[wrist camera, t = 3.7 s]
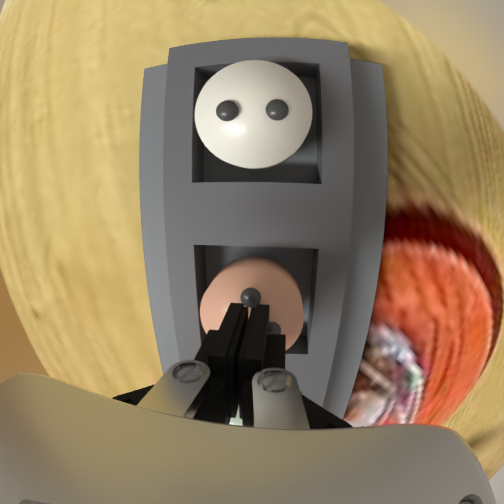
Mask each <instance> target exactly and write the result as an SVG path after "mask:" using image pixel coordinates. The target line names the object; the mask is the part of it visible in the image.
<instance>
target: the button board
mask: <svg viewBox="0 0 504 504" xmlns="http://www.w3.org/2000/svg"><path fill="white" fill-rule="evenodd" d="M248 60H262V61H268V62H272V63H275V64H278V65H280V66H283V67H284V68H286V69H288V70H289V71H291V72H292V73H293V74H295V75H296V76H297V77H298V78H299V79H300V81H301V82H302V83H303V84H304V86H305V88H306V90H307V91H308V94H309V96H310V100H311V104H312V121H311V126H310V129H309V132H308V134H307V136H306V138H305V140H304V141H303V143H302V145H301V147H300V148H299V149H298V151H297V152H296V153H295V154H294V155H293V156H292V157H291V158H289V159H288V160H286V161H285V162H283V163H281V164H279V165H277V166H274V167H271V168H266V169H248V168H243V167H239V166H236V165H233V164H230V163H227V162H225V161H223V160H221V159H220V158H218V157H216V156H215V155H214V154H213V153H212V152H210V151H209V149H208V148H207V147H206V146H205V145H204V143H203V142H202V140H201V138H200V136H199V134H198V131H197V128H196V124H195V106H196V102H197V99H198V96H199V94H200V92H201V90H202V88H203V87H204V85H205V84H206V83H207V81H208V80H209V79H210V78H211V77H212V76H213V75H215V74H216V73H217V72H218V71H220V70H222V69H223V68H225V67H227V66H229V65H231V64H234V63H237V62H242V61H248ZM387 172H388V139H387V114H386V99H385V88H384V78H383V69H382V64H377V63H372V62H366V61H360V60H354V59H349V50H348V43H346V42H338V41H330V40H319V39H306V38H244V39H230V40H219V41H211V42H203V43H196V44H190V45H184V46H178V47H173V48H169V57H168V64H164V65H159V66H155V67H150V68H146V69H145V70H144V79H143V90H142V102H141V119H140V148H139V178H140V208H141V226H142V239H143V250H144V261H145V270H146V278H147V286H148V294H149V301H150V307H151V314H152V320H153V326H154V331H155V337H156V342H157V347H158V352H159V357H160V362H161V366H162V371H163V375H164V374H165V373H166V372H167V370H168V369H169V368H170V367H171V366H172V365H174V364H175V363H177V362H180V361H184V360H194V358H195V356H196V354H197V352H198V350H199V348H200V347H201V345H202V343H203V341H204V339H205V337H206V335H207V334H206V332H205V330H204V328H203V326H202V322H201V318H200V306H201V301H202V298H203V295H204V293H205V292H206V290H207V289H208V287H209V286H210V284H211V283H212V281H213V280H214V278H215V277H216V275H217V274H218V272H219V271H220V270H221V269H222V268H223V267H224V266H225V265H227V264H228V263H230V262H231V261H234V260H236V259H239V258H242V257H247V256H261V257H266V258H270V259H272V260H275V261H277V262H279V263H281V264H282V265H283V266H285V267H286V268H287V269H288V270H289V271H290V272H291V273H292V274H293V275H294V277H295V278H296V280H297V282H298V284H299V287H300V290H301V297H302V304H303V312H304V322H303V327H302V330H301V333H300V335H299V337H298V338H297V340H296V341H295V343H294V344H293V345H292V346H291V347H290V348H288V349H287V350H286V355H285V369H286V370H288V371H290V372H291V373H293V374H294V375H295V377H296V379H297V382H298V385H299V389H300V393H301V394H302V395H304V396H305V397H307V398H308V399H310V400H311V401H313V402H315V403H316V404H318V405H319V406H321V407H322V408H324V409H326V410H327V411H329V412H331V413H332V414H334V415H336V416H337V417H339V418H341V419H342V420H343V417H344V414H345V411H346V408H347V405H348V402H349V399H350V396H351V393H352V389H353V386H354V383H355V379H356V376H357V372H358V369H359V365H360V362H361V358H362V354H363V350H364V346H365V342H366V338H367V333H368V329H369V324H370V319H371V315H372V310H373V304H374V299H375V293H376V288H377V282H378V275H379V268H380V261H381V253H382V245H383V236H384V225H385V213H386V198H387Z"/></svg>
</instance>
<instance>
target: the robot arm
mask: <svg viewBox="0 0 504 504" xmlns="http://www.w3.org/2000/svg"><path fill="white" fill-rule="evenodd" d="M269 312H270V305H265V304H257V306H256V307H252V308H251V312H250V316H249V319H248V307H244V304H243V303H230V305H229V307H228V309H227V312H226V314H225V316H224V318H223V321H222V323H221V325H220V327H219V330H212V329H210V330H209V331H208V333H207V335H206V337H205V339H204V341H203V343H202V345H201V347H200V348H199V350H198V352H197V354H196V356H195V358H194V360H184V361H180V362H177V363H175V364H174V365H172V366H171V367H170V368H169V369H168V370H167V372H166V373H165V374H164V375H163V376H162V377H161V378H160V380H159V381H158V382H157V383H156V384H155V385H152V386H148V387H145V388H142V389H139V390H135V391H132V392H129V393H125V394H122V395H118V396H116V397H113V398H109V397H106V396H103V395H100V394H97V393H94V392H91V391H89V390H86V389H83V388H81V387H78V386H75V385H72V384H69V383H67V382H64V381H62V380H59V379H56V378H52V377H49V376H44V375H40V374H32V373H22V374H15V375H13V376H11V377H9V378H8V379H6V380H5V381H3V382H2V383H1V384H0V504H496V500H495V497H494V495H493V492H492V489H491V486H490V484H489V481H488V479H487V477H486V474H485V472H484V470H483V468H482V466H481V464H480V462H479V460H478V458H477V456H476V455H475V453H474V451H473V450H472V448H471V447H470V445H469V444H468V443H467V441H466V440H465V439H464V438H463V437H462V436H461V435H460V434H459V433H457V432H456V431H454V430H452V429H450V428H446V427H442V426H438V425H429V424H390V425H380V426H367V427H363V426H361V427H352V426H351V425H350V424H349V423H347V422H346V421H344V420H342V419H341V418H339V417H337V416H336V415H334V414H332V413H331V412H329V411H327V410H326V409H324V408H322V407H321V406H319V405H318V404H316V403H315V402H313V401H311V400H310V399H308V398H307V397H305V396H304V395H302V394H301V393H300V389H299V385H298V382H297V379H296V377H295V375H294V374H293V373H291V372H290V371H288V370H286V369H285V355H286V334H269ZM238 406H239V417H240V419H242V425H243V426H240V425H231V424H229V423H230V419H231V418H236V415H237V410H238Z"/></svg>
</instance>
